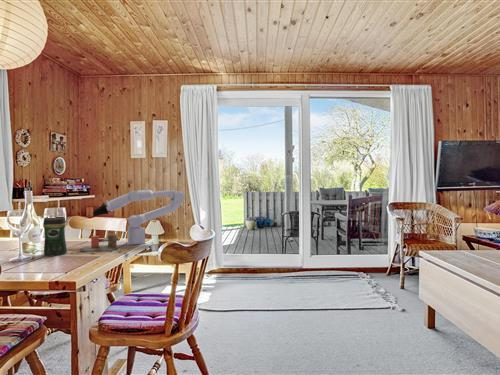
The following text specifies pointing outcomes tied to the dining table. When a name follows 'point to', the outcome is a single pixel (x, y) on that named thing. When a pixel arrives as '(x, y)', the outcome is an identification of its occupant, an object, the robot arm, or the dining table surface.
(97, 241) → the hook bolt
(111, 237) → the eye bracket
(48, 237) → the coffee jar
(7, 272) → the dining table surface
